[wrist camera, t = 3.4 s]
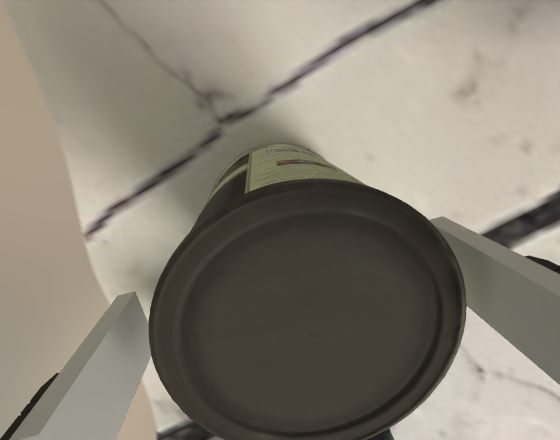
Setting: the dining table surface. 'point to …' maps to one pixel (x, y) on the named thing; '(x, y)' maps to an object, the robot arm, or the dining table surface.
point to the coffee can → (305, 305)
